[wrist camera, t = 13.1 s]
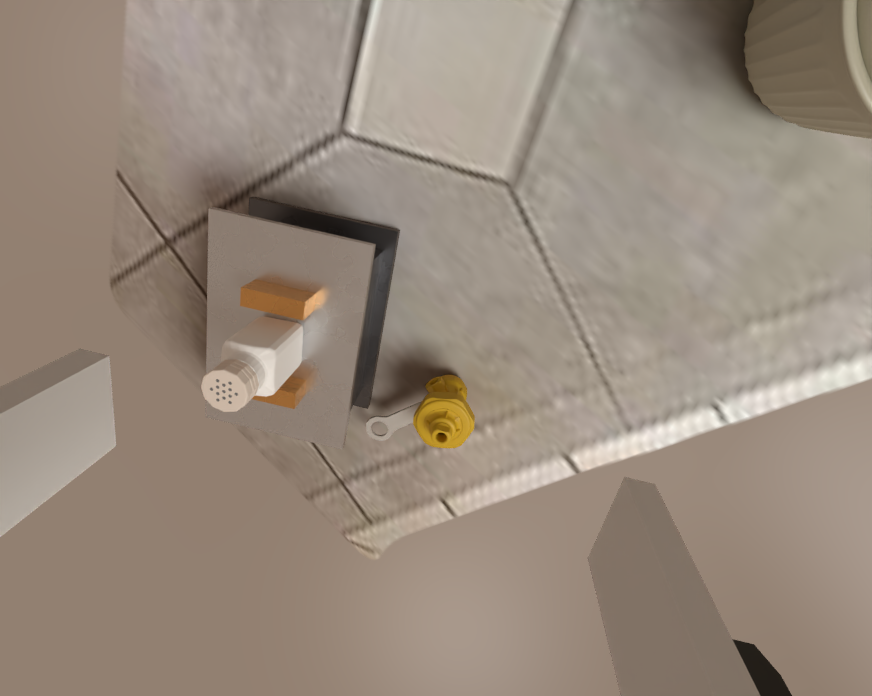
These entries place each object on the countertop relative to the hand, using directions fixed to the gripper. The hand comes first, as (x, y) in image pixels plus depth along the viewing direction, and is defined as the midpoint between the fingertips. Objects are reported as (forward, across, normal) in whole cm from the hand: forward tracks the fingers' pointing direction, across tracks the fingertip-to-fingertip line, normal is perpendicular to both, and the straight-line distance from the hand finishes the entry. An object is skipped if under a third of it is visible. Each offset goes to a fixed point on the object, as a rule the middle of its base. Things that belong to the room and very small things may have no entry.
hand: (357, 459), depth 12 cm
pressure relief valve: (+35, 0, -17) cm, 39 cm away
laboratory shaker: (+35, -12, -10) cm, 38 cm away
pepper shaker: (+26, -12, -10) cm, 30 cm away
